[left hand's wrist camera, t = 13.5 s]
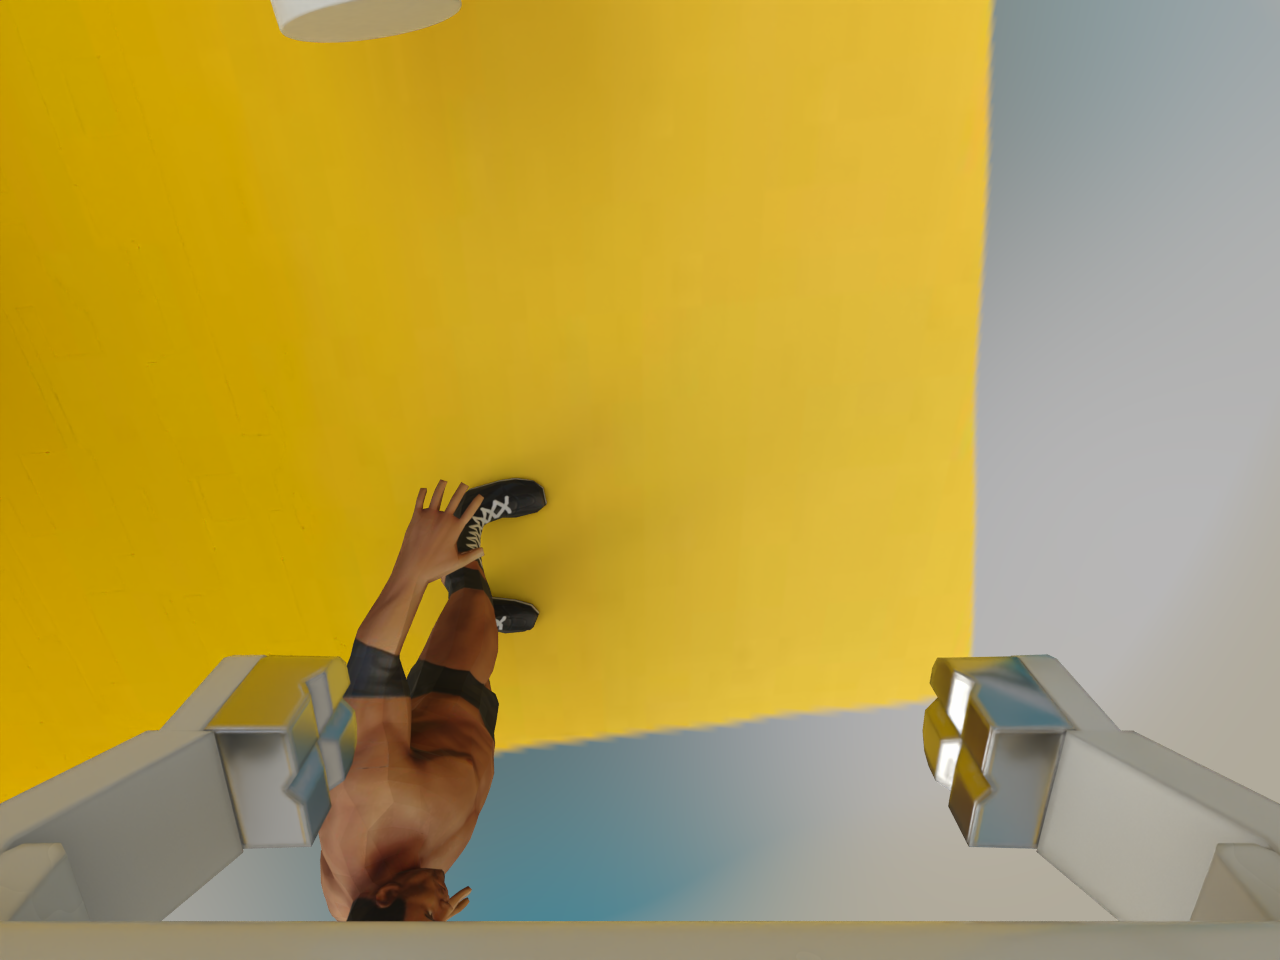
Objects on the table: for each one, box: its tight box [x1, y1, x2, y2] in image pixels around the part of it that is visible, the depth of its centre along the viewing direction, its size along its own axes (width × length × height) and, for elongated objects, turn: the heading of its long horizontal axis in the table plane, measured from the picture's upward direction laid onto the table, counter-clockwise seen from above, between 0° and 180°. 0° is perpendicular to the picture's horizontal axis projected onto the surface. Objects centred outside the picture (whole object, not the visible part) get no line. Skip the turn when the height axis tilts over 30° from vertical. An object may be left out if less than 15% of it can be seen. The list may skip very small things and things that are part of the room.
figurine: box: [319, 478, 547, 921], centre depth 38 cm, size 24×6×30 cm, turn 174°
